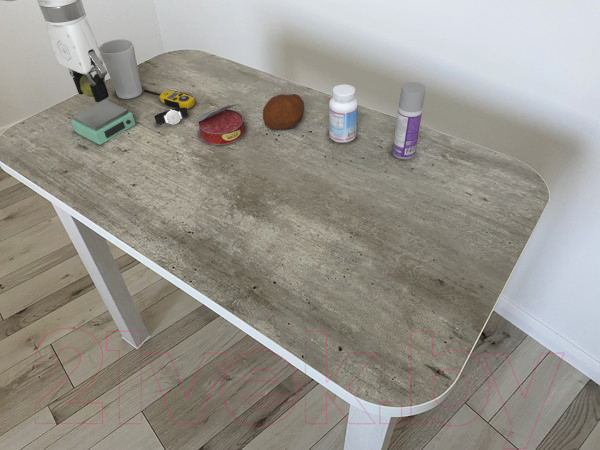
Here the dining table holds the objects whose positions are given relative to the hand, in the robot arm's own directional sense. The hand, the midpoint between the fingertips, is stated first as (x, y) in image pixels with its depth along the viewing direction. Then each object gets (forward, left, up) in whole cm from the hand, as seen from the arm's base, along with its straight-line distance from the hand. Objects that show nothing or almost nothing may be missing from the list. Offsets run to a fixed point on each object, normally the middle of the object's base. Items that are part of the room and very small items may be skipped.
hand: (93, 94), depth 105 cm
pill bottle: (+28, -46, -9) cm, 55 cm away
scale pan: (0, 0, -5) cm, 5 cm away
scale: (0, 0, -9) cm, 9 cm away
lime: (0, 0, -1) cm, 1 cm away
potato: (+24, -33, -9) cm, 42 cm away
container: (+30, -60, -9) cm, 68 cm away
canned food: (+14, -23, -9) cm, 29 cm away
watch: (+11, -10, -9) cm, 18 cm away
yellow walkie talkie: (+17, -2, -9) cm, 19 cm away
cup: (+14, +9, -9) cm, 19 cm away
